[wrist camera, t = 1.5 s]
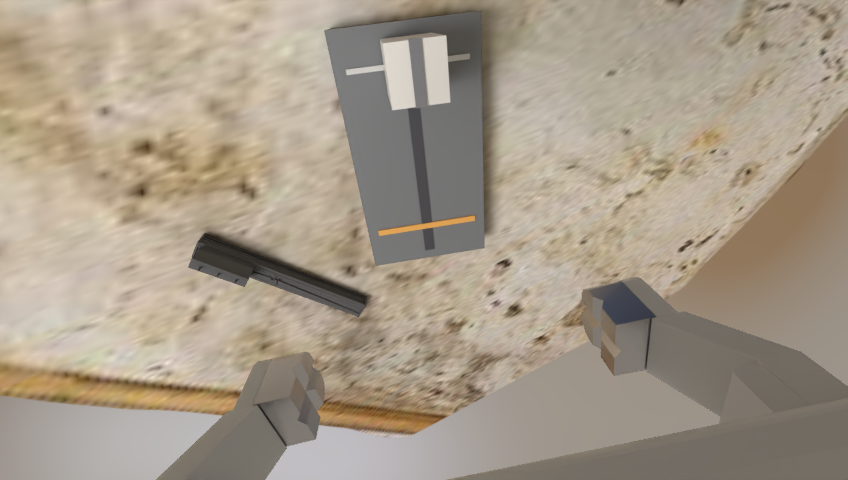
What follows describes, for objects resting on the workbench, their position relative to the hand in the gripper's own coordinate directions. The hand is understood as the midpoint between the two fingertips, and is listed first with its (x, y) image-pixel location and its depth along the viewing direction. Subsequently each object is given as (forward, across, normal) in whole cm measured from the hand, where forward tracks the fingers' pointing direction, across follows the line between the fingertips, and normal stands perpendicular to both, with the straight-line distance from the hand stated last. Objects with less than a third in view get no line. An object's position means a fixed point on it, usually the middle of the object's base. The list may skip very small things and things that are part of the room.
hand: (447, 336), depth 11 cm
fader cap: (+24, -1, -6) cm, 24 cm away
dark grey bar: (+28, +17, +11) cm, 34 cm away
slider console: (+27, 0, +1) cm, 27 cm away
